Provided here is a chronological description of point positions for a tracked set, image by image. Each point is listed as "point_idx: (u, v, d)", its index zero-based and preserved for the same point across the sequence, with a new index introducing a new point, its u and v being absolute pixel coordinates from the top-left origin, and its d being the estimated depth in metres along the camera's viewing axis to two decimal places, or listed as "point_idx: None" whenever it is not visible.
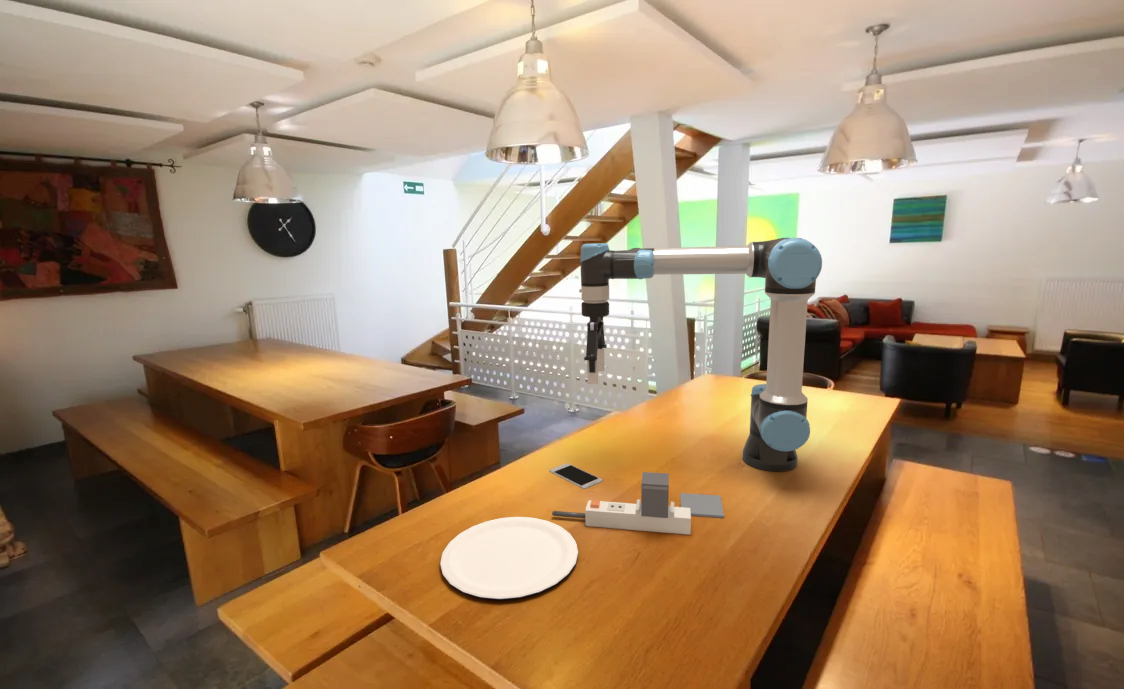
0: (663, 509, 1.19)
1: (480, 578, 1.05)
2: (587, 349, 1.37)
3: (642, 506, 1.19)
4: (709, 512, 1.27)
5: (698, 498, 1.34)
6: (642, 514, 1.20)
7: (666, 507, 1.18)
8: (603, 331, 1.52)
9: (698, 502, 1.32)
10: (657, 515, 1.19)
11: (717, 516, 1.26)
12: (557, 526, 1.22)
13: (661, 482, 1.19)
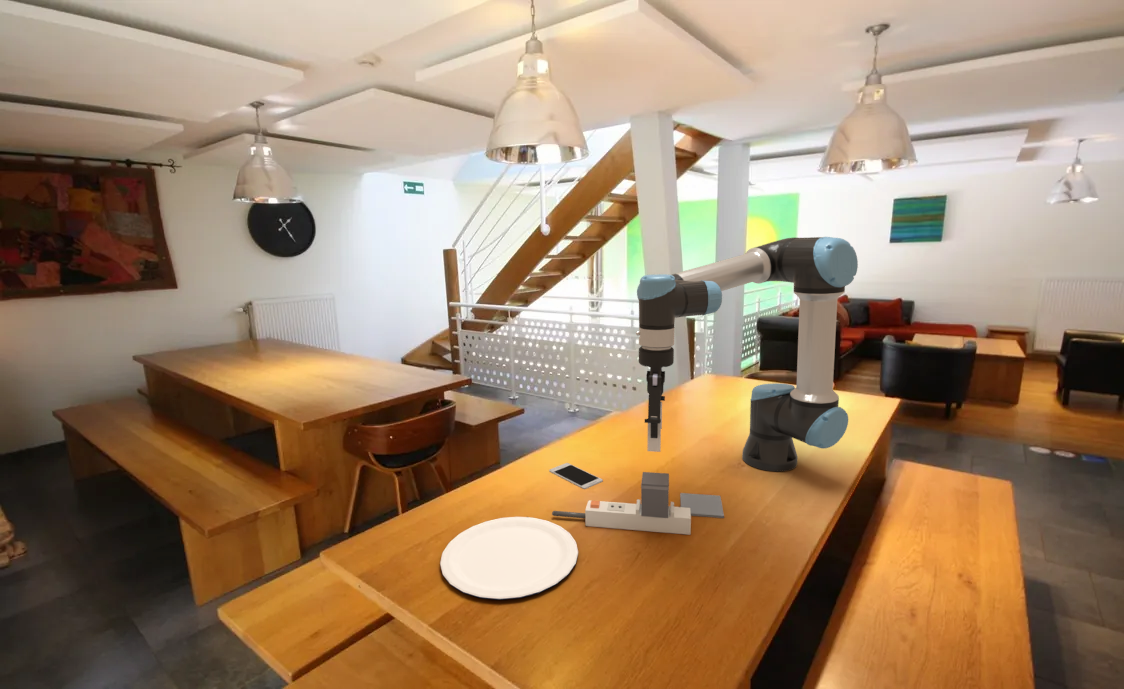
0: (663, 509, 1.19)
1: (480, 578, 1.05)
2: (649, 410, 1.08)
3: (642, 506, 1.19)
4: (709, 512, 1.27)
5: (698, 498, 1.34)
6: (642, 514, 1.20)
7: (666, 507, 1.18)
8: None
9: (698, 502, 1.32)
10: (657, 515, 1.19)
11: (717, 516, 1.26)
12: (557, 526, 1.22)
13: (661, 482, 1.19)
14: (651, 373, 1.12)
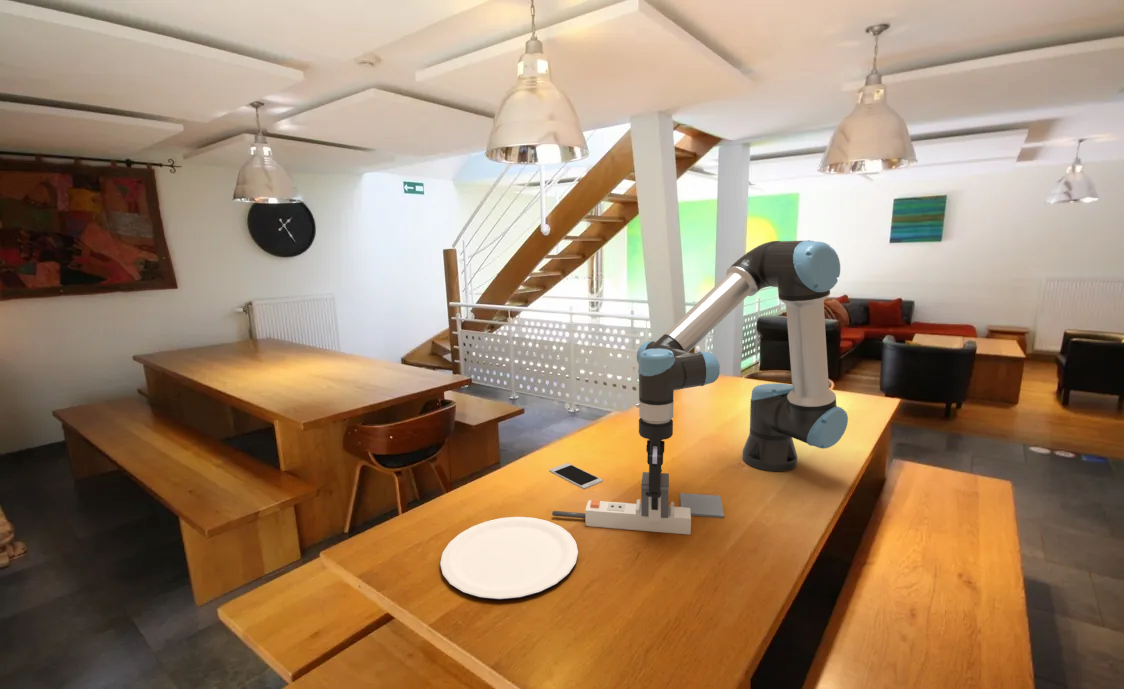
0: (663, 509, 1.19)
1: (480, 578, 1.05)
2: (650, 486, 1.14)
3: (642, 506, 1.19)
4: (709, 512, 1.27)
5: (698, 498, 1.34)
6: (642, 514, 1.20)
7: (666, 507, 1.18)
8: None
9: (698, 502, 1.32)
10: None
11: (717, 516, 1.26)
12: (557, 526, 1.22)
13: (661, 482, 1.19)
14: (651, 446, 1.15)
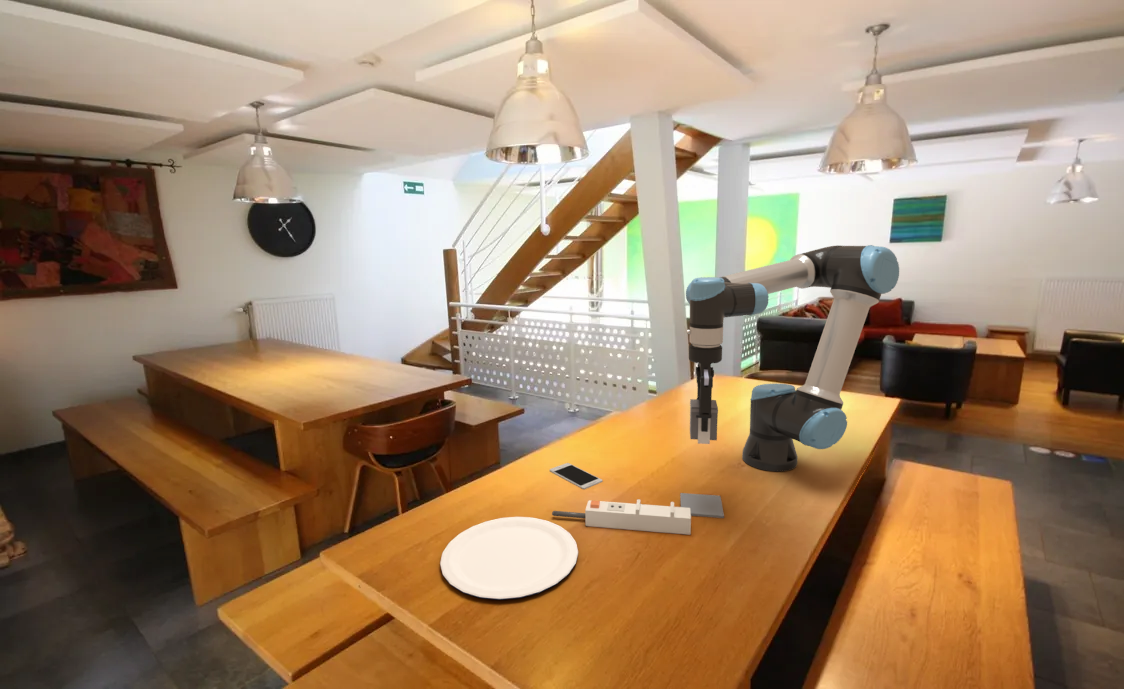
0: (712, 431, 1.24)
1: (480, 578, 1.05)
2: (701, 407, 1.20)
3: (691, 429, 1.25)
4: (709, 512, 1.27)
5: (698, 498, 1.34)
6: (691, 437, 1.25)
7: (715, 429, 1.24)
8: None
9: (698, 502, 1.32)
10: None
11: (717, 516, 1.26)
12: (557, 526, 1.22)
13: None
14: (702, 369, 1.20)
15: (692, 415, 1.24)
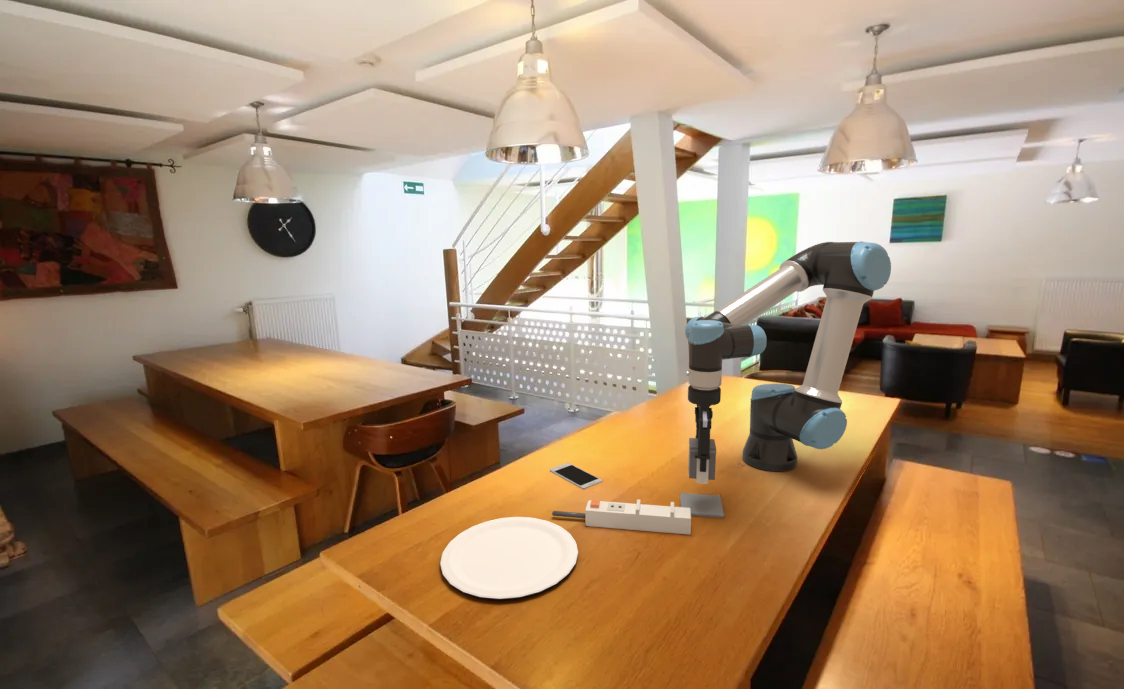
0: (710, 471, 1.26)
1: (480, 578, 1.05)
2: (700, 449, 1.22)
3: (690, 469, 1.27)
4: (709, 512, 1.27)
5: (698, 498, 1.34)
6: (690, 476, 1.27)
7: (713, 469, 1.26)
8: None
9: (698, 502, 1.32)
10: None
11: (717, 516, 1.26)
12: (557, 526, 1.22)
13: None
14: (701, 411, 1.22)
15: (691, 455, 1.26)
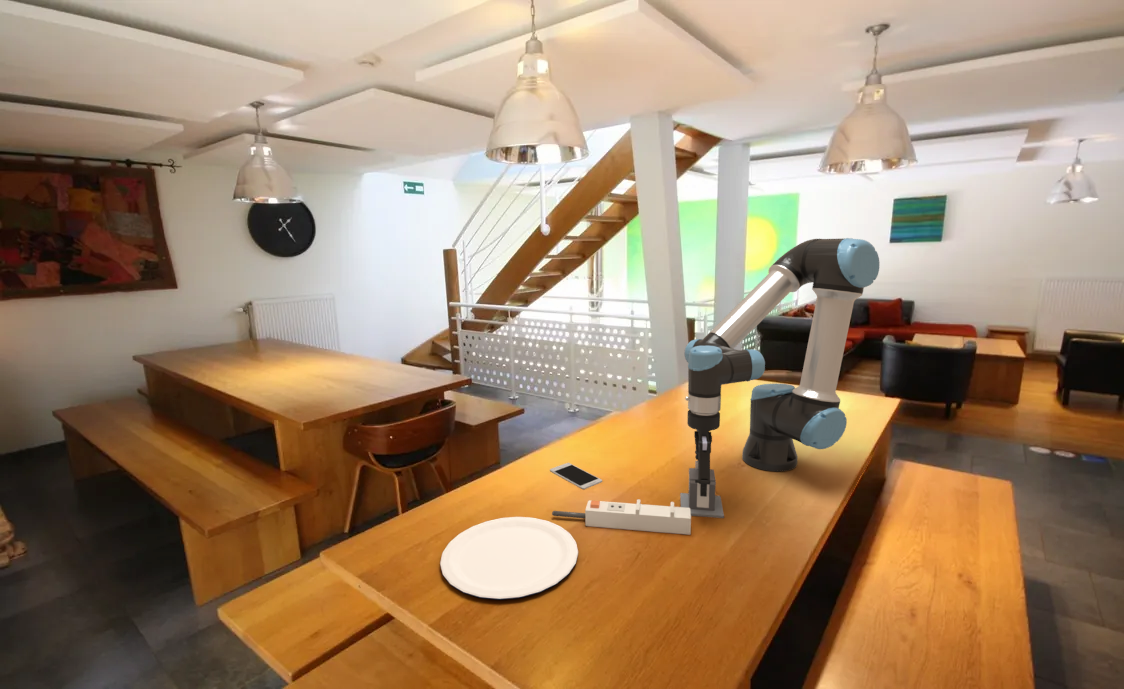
0: (710, 502, 1.28)
1: (480, 578, 1.05)
2: (700, 473, 1.21)
3: (690, 500, 1.28)
4: (709, 512, 1.27)
5: None
6: (690, 507, 1.29)
7: (713, 500, 1.27)
8: None
9: None
10: (704, 508, 1.28)
11: (717, 516, 1.26)
12: (557, 526, 1.22)
13: None
14: (700, 436, 1.24)
15: (691, 486, 1.28)
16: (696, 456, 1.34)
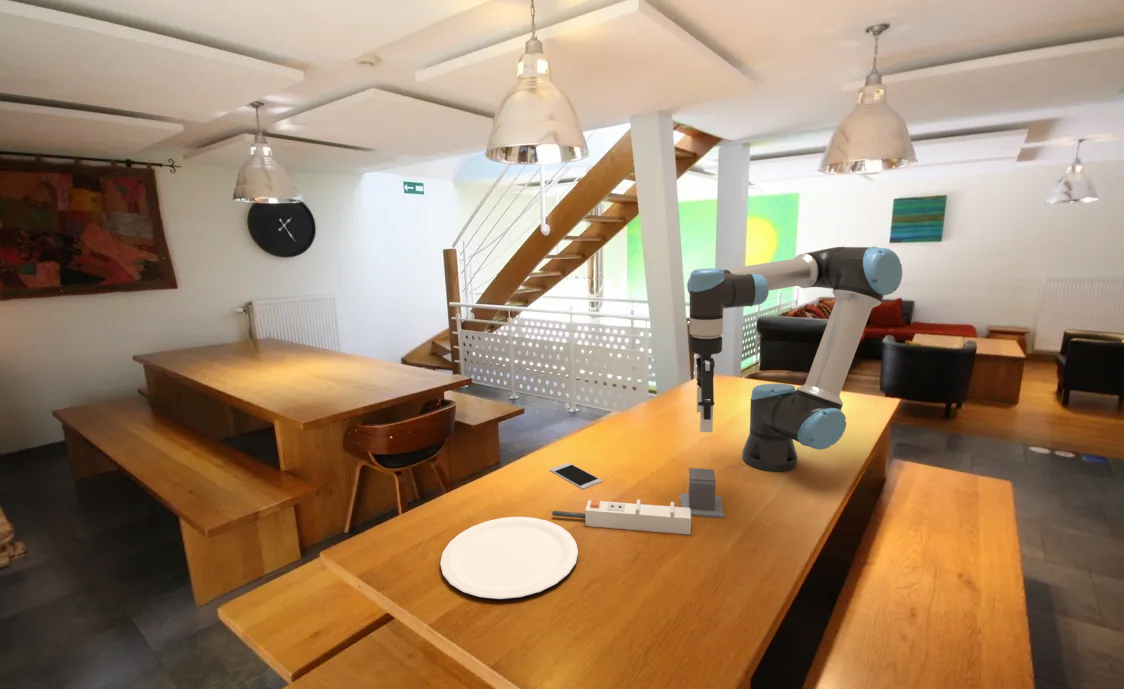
0: (710, 502, 1.28)
1: (480, 578, 1.05)
2: (703, 393, 1.17)
3: (690, 500, 1.28)
4: (709, 512, 1.27)
5: None
6: (690, 507, 1.29)
7: (713, 500, 1.27)
8: None
9: None
10: (704, 508, 1.28)
11: (717, 516, 1.26)
12: (557, 526, 1.22)
13: (708, 477, 1.28)
14: (702, 360, 1.21)
15: (691, 486, 1.28)
16: (698, 382, 1.33)
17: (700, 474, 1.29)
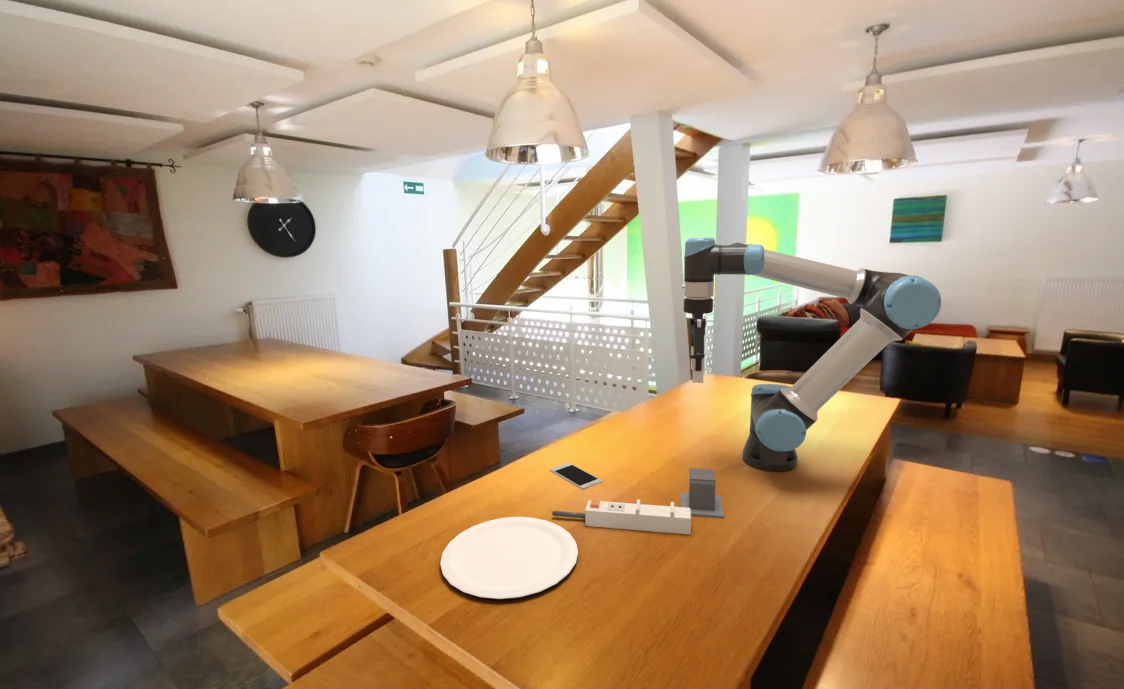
0: (710, 502, 1.28)
1: (480, 578, 1.05)
2: (695, 347, 1.32)
3: (690, 500, 1.28)
4: (709, 512, 1.27)
5: None
6: (690, 507, 1.29)
7: (713, 500, 1.27)
8: None
9: None
10: (704, 508, 1.28)
11: (717, 516, 1.26)
12: (557, 526, 1.22)
13: (708, 477, 1.28)
14: (695, 318, 1.36)
15: (691, 486, 1.28)
16: (691, 342, 1.48)
17: (700, 474, 1.29)
